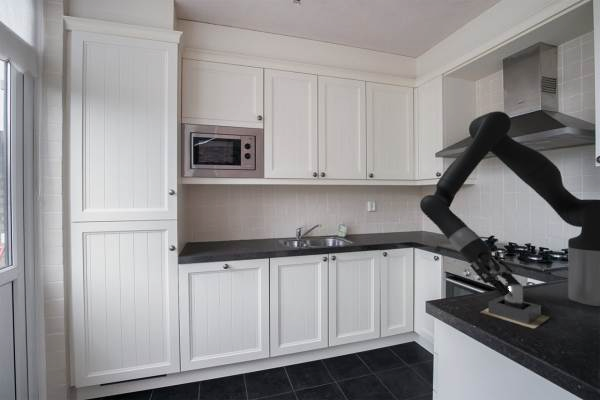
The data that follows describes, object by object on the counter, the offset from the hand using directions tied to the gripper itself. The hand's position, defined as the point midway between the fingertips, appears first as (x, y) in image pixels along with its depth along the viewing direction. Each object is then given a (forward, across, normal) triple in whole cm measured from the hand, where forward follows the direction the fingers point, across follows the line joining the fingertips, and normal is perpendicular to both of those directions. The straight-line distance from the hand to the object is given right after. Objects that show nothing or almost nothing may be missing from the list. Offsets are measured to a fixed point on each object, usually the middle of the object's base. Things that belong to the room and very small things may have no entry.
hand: (513, 291), depth 75 cm
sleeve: (+5, 0, +4) cm, 6 cm away
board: (+5, 0, +5) cm, 7 cm away
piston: (+4, 0, +4) cm, 6 cm away
